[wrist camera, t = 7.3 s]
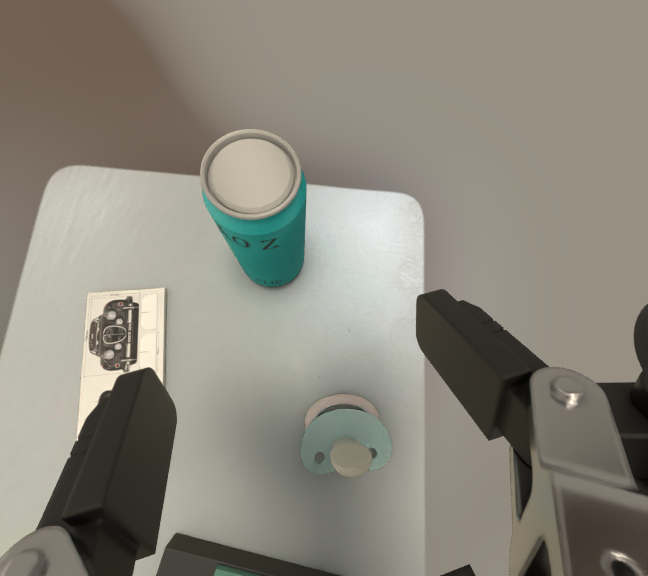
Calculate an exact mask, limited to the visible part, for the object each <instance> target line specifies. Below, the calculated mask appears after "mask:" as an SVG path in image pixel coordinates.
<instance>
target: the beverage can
mask: <svg viewBox="0 0 648 576" xmlns="http://www.w3.org/2000/svg"><path fill="white" fill-rule="evenodd" d="M200 179H201V185H202V193H203V199H204V202H205V205H206V207H207V209H208V211H209V213H210V214H211V216H212V218H213V219H214V221H215V223H216V224H217V226H218V228H219V229H220V231H221V233H222V235H223V236H224V238H225V240H226V241H227V243H228V245H229V246H230V248H231V250H232V251H233V253H234V255H235V256H236V258H237V260H238V261H239V263H240V265H241V266H242V268H243V270H244V271H245V273H246V274H247V276H248V277H249V278H250V279H252V280H253V281H254V282H256V283H258V284H260V285H264V286H269V287H275V286H281V285H284V284H286V283H288V282H290V281H291V280H293V279H294V278H295V277H296V276H297V275H298V273H299V272H300V270H301V268H302V266H303V262H304V247H305V218H306V180H305V176H304V174H303V171H302V169H301V167H300V162H299V160H298V158H297V155H296V153H295V152H294V151H293V149H292V148H291V147H290V145H289V144H288V143H287V142H285V141H284V140H283V139H282V138H280V137H278V136H277V135H275V134H272V133H270V132H267V131H263V130H256V129H245V130H238V131H235V132H232V133H229V134H227V135H225V136H223V137H221V138H220V139H218V140H217V141H216V142H215V143H214V144H213V145H212V146H211V147H210V148H209V149H208V151H207V152H206V154H205V156H204V158H203V160H202V163H201V169H200Z"/></svg>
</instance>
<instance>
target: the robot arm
mask: <svg viewBox="0 0 648 576" xmlns="http://www.w3.org/2000/svg"><path fill="white" fill-rule="evenodd" d="M416 337H417V341H418V344H419V346H420V348H421V350H422V352H423V353H424V355H425V356H426V357H427V358H428V360H429V361H430V363H431V364H432V365H433V367H434V368H435V369H436V370H437V372H438V373H439V375H440V376H441V377H442V379H443V380H444V381H445V383H446V384H447V385H448V387H449V388H450V389H451V391H452V392H453V393H454V395H455V396H456V397H457V399H458V400H459V401H460V403H461V404H462V405H463V407H464V408H465V409H466V411H467V412H468V413H469V415H470V416H471V417H472V419H473V420H474V422H475V423H476V424H477V426H478V427H479V428H480V430H481V431H482V432H483V434H484V435H485V436H486V438H487V439H488V440H493V439H496V438H499V437H502V436H504V437H505V438H506V439H507V440H508V442H509V443H510V444H511V445H510V449H509V455H510V482H511V503H512V504H511V505H512V506H511V507H512V536H511V543H510V554H509V576H648V367H647V368H645V369H644V370H643V371H642V372H641V374H640V375H639V377H638V379H637V381H636V382H635V383H634V382H631V383H595V382H594V381H592V380H591V379H589V378H588V377H586V376H584V375H582V374H580V373H578V372H575V371H573V370H570V369H565V368H559V367H549V366H548V365H546V364H545V363H544V362H543V361H542V360H540V359H539V358H538V357H537V356H536V355H535V354H533V353H532V352H531V351H530V350H529V349H528V348H526V347H525V346H524V345H523V344H522V343H521V342H519V341H518V340H517V339H516V338H515V337H514V336H512V335H511V334H510V333H509V332H507V330H504V329H503V327H502V326H501V325H499V324H498V323H497V322H496V321H493V319H492V318H491V317H490V316H489V315H488V314H487V313H485V312H484V311H483V310H482V309H481V308H479V307H477V306H475V305H472V304H470V303H468V302H466V301H464V300H462V301H456V300H455V299H454V298H453V297H452V296H451V295H450V294H449V293H448V292H447V291H445V290H443V289H440V290H436V291H432V292H429V293H425V294H421V295H419V296H418V297H417V303H416ZM176 424H177V414H176V408H175V405H174V402H173V401H172V399H171V397H170V396H169V394H168V392H167V391H166V389H165V387H164V386H163V384H162V382H161V381H160V379H159V378H158V376H157V374H156V373H155V371H154V370H153V369H152V368H150V367H147V368H143V369H140V370H136V371H132V372H129V373H125V374H121V375H119V376H118V377H117V379H116V381H115V383H114V386H113V388H112V391H111V393H110V396H109V398H105V399H102V400H101V401H100V402H99V403H98V404H97V406H96V407H95V408H94V409H93V410H92V412H91V413H90V414H89V415H88V416H87V418H86V420H85V422H84V424H83V426H82V428H81V431H80V433H79V435H78V441H76V442H75V444H74V446H73V449H72V451H71V453H70V455H71V457H70V458H68V460H67V462H66V464H65V466H64V469H63V471H62V473H61V475H60V478H59V480H58V482H57V484H56V487H55V489H54V491H53V493H52V496H51V498H50V500H49V502H48V504H47V507H46V509H45V511H44V513H43V516H42V518H41V520H40V522H39V525H38V526H37V528H36V530H35V531H34V532H32V533H30V534H29V535H27V536H26V537H24V538H23V539H21V540H20V541H19V542H17V543H16V544H15V545H14V546H12V547H11V548H10V549H9V550H8V551H7V552H6V553H5V554H4V555H3V556H2V557H1V558H0V576H132V575H133V570H134V565H135V561H136V560H139V559H142V558H144V557H147V556H150V555H153V554H155V551H156V545H157V539H158V533H159V527H160V521H161V515H162V509H163V503H164V497H165V491H166V485H167V479H168V473H169V467H170V460H171V454H172V448H173V442H174V436H175V430H176ZM441 576H475V574H474V572H473V570H472V568H471V566H470V564H469V565H466V566H464V567H461V568H459V569H456V570H454V571H451V572H449V573H446V574H444V575H441Z"/></svg>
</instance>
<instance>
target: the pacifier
mask: <svg viewBox="0 0 648 576" xmlns="http://www.w3.org/2000/svg"><path fill="white" fill-rule="evenodd" d="M338 404H350V405H355V406H358V407H360V408H361V409H363V410H364V411H365V412H364V411H360V410H355V409H338V410H333V411H329V412H327V413H324V414H322V415H320V416H319V417H317V416H318V414H319V413H320V412H321V411H323V410H324V409H326V408H328V407H330V406H333V405H338ZM304 423H305V427H306V431H305V433H304V435H303V438H302V442H301V459H302V462H303V465H304V466H305V468H306V469H307V470H308V471H309V472H311V473H314V474H317V475H324V474H328V473H331V472H333V471H335V470H336V471H337V472H339V473H340V474H341V475H343V476H346V477H351V478H352V477H359V476H361V475H363V474H364V473H365V472H366V471H371V470H376V469H379V468H381V467H383V466H384V465H385V464H386V463H387V462H388V461H389V459H390V457H391V453H392V441H391V438H390V435H389V433H388V431H387V429H386V428H385V426H384V425H383V424H382V423H381V421H380V420H379V416H378V412H377V410H376V408H375V407H374V406H373V404H371V403H370V402H369V401H368V400H366V399H364V398H362V397H360V396H356V395H352V394H336V395H331V396H328V397H325V398H322V399H321V400H319V401H317V402H316V403H314V404H313V405H312V406H311V407H310V408H309V410H308V412H307V414H306V416H305V422H304ZM368 448H374V449H375V450H376V452H377V455H376V457H375V458H372V453H371V452H370V450H369V449H368ZM317 452H322V453H323V454H324V460H323V461H322V462H320V463H317V462H316V461H315V460H314V457H315V454H316V453H317Z"/></svg>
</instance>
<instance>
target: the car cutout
mask: <svg viewBox="0 0 648 576" xmlns="http://www.w3.org/2000/svg"><path fill="white" fill-rule="evenodd" d="M166 306H167V289H166V288H153V289H138V290H124V291H110V292H96V293H87V304H86V318H85V331H84V344H83V357H82V371H81V384H80V397H79V411H78V424H77V437H76V441H78V435H79V433H80V431H81V428H82V426H83V424H84V422H85V420H86V418H87V416H88V415H89V414H90V413H91V412H92V410H93V409H94V408H95V407H96V406H97V404H98V403H99V402H100V401H101V400H102V399H105V398H109V396H110V393H111V391H112V388H113V386H114V383H115V381H116V379H117V377H118V376H119V375H121V374H125V373H129V372H132V371H136V370H140V369H143V368H147V367H150V368H152V369H153V370H154V371H155V373H156V374H157V376H158V378H159V379H160V381H161V382H162V384H163V386H164V387H165V361H166Z"/></svg>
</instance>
